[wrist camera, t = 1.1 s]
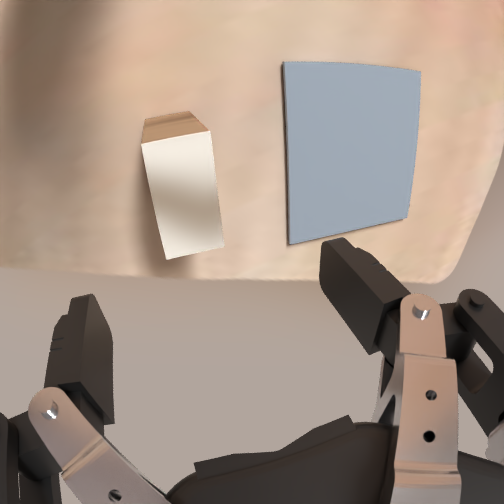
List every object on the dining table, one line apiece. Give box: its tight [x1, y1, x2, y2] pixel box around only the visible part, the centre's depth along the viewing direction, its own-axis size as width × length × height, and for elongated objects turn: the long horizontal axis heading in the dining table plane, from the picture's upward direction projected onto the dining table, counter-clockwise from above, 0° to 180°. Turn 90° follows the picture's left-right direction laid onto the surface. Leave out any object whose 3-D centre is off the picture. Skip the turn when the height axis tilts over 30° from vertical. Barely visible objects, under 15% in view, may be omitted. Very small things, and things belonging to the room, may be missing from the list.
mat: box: [283, 62, 421, 245], centre depth 30 cm, size 18×16×1 cm
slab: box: [141, 111, 225, 260], centre depth 21 cm, size 7×4×10 cm, turn 4°
